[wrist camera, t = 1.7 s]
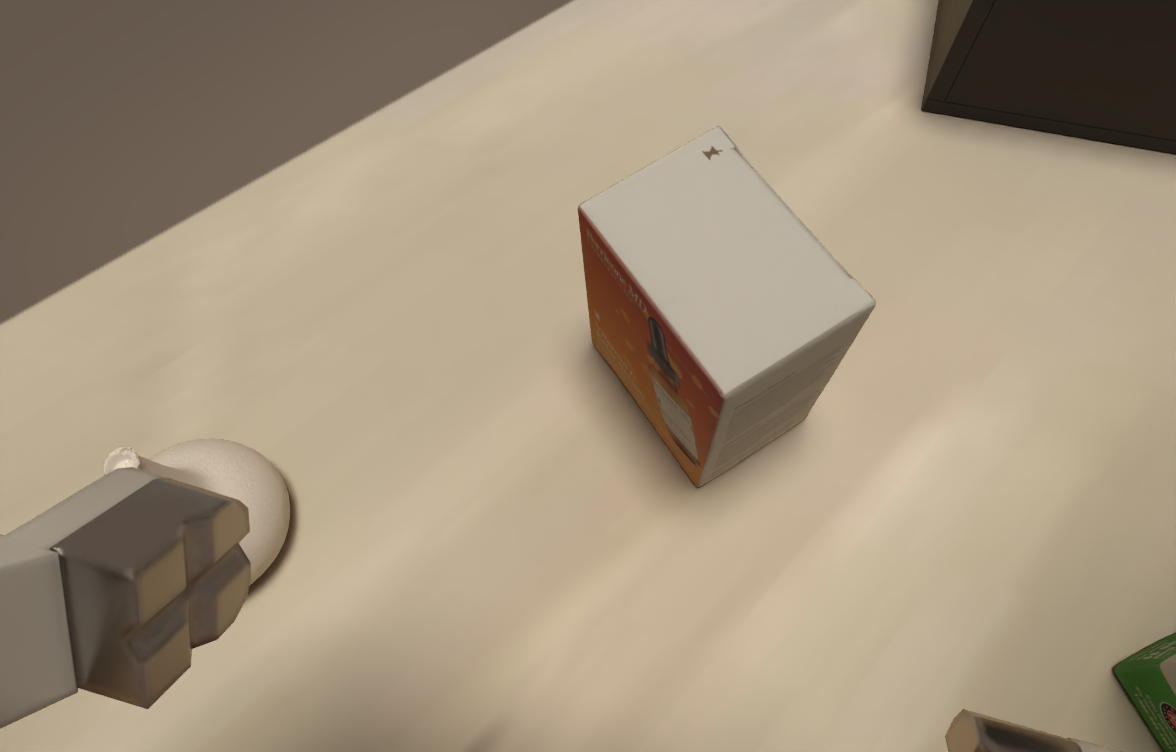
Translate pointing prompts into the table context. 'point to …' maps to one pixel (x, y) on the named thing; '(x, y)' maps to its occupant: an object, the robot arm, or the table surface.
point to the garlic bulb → (226, 487)
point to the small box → (714, 303)
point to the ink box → (1154, 687)
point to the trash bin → (1059, 67)
